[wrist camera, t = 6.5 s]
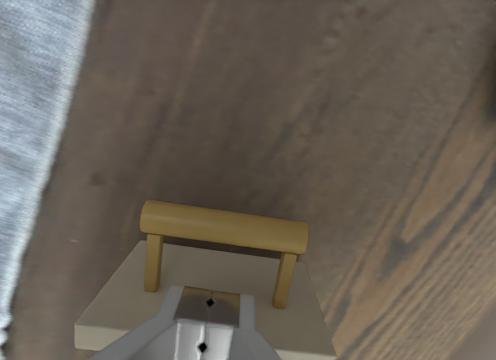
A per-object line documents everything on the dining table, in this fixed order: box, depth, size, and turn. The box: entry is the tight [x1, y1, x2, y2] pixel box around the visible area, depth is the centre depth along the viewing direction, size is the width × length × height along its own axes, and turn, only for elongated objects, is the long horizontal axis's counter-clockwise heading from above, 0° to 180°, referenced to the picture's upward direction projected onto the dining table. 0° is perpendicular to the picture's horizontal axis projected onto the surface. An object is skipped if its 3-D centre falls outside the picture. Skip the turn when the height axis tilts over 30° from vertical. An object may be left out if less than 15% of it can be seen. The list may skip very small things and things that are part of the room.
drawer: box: [75, 200, 337, 360], centre depth 15 cm, size 16×10×7 cm, turn 171°
